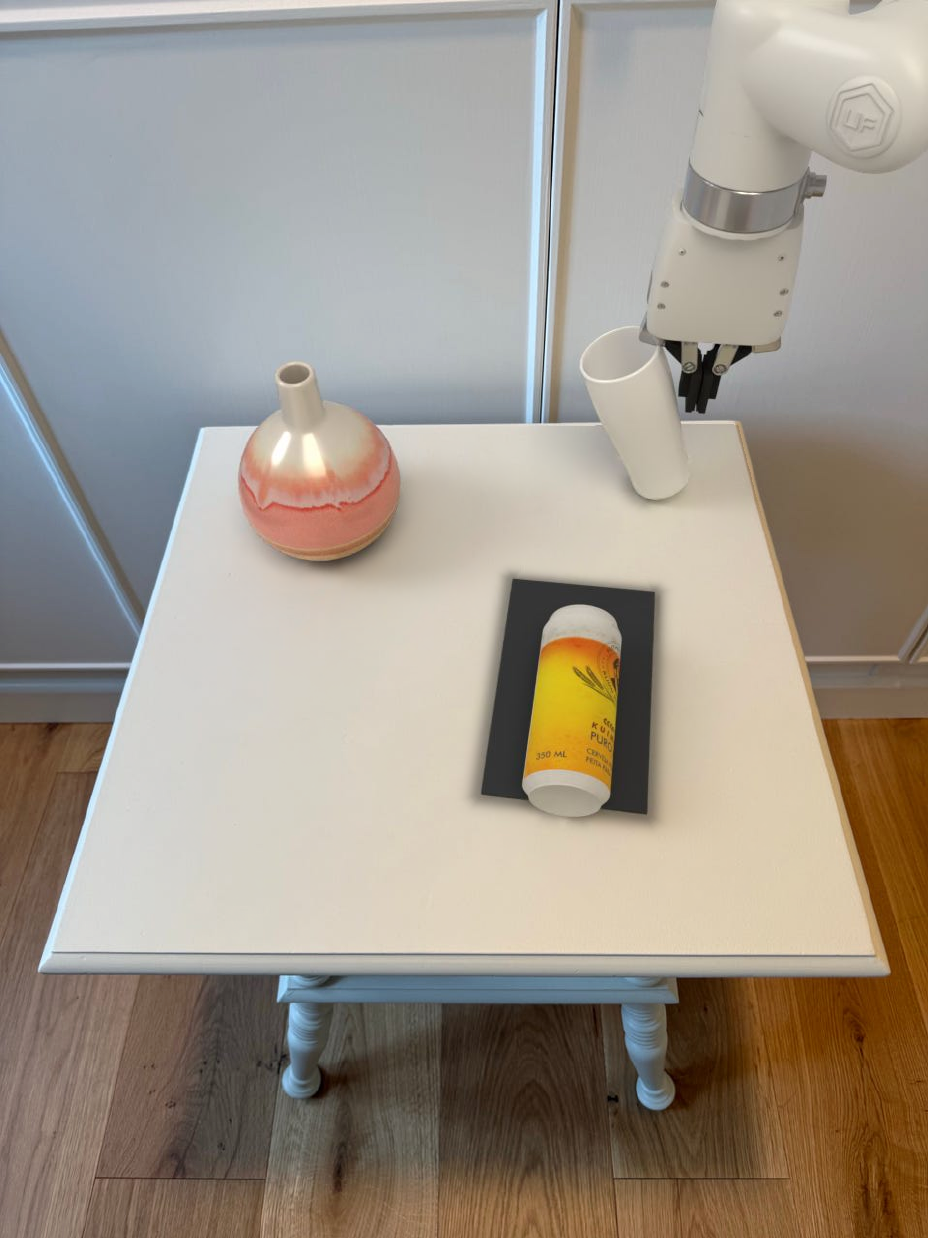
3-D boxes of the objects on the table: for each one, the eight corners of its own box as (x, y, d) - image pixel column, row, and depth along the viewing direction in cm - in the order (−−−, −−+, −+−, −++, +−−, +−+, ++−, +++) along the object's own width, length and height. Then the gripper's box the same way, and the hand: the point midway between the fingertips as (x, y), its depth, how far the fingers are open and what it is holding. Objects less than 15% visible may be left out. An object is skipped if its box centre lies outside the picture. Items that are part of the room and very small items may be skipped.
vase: (375, 456, 88) (350, 297, 74) (429, 556, 81) (412, 401, 67) (237, 502, 86) (183, 346, 71) (280, 610, 78) (229, 459, 64)
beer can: (607, 784, 60) (621, 602, 69) (515, 778, 62) (540, 600, 70) (611, 823, 65) (623, 648, 74) (526, 816, 66) (548, 645, 75)
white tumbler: (706, 496, 81) (667, 364, 70) (631, 517, 83) (581, 393, 72) (694, 444, 85) (655, 313, 74) (622, 466, 87) (574, 341, 76)
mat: (654, 594, 78) (655, 591, 77) (646, 814, 66) (647, 812, 66) (512, 581, 79) (512, 578, 79) (481, 794, 68) (481, 792, 67)
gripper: (852, 164, 63) (785, 378, 78) (631, 155, 64) (606, 366, 79) (863, 227, 58) (790, 440, 73) (625, 214, 60) (601, 426, 75)
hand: (694, 401), depth 76 cm, fingers closed
